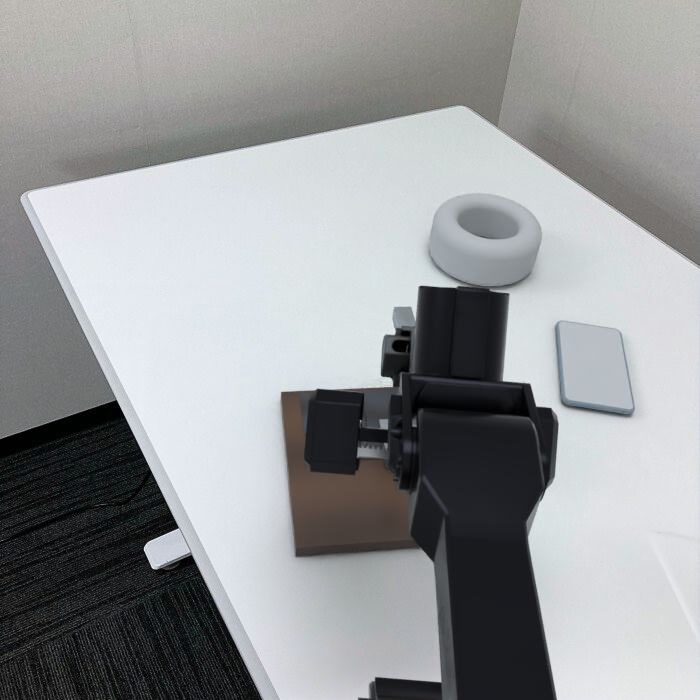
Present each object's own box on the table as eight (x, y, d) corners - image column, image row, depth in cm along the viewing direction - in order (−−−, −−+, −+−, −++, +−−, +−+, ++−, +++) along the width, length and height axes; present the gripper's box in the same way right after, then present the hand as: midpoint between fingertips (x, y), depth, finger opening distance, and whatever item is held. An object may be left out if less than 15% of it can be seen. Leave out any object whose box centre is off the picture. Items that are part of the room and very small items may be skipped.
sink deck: (501, 541, 75) (504, 532, 74) (295, 557, 72) (295, 547, 71) (453, 392, 89) (456, 383, 88) (280, 400, 86) (280, 390, 85)
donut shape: (524, 301, 103) (536, 261, 98) (415, 273, 106) (422, 233, 101) (540, 242, 114) (551, 203, 109) (441, 218, 116) (448, 179, 112)
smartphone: (621, 328, 99) (636, 412, 88) (619, 334, 100) (634, 417, 88) (556, 318, 99) (562, 400, 88) (554, 324, 100) (560, 406, 89)
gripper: (592, 338, 52) (531, 346, 67) (313, 314, 51) (317, 329, 67) (580, 505, 51) (522, 475, 67) (299, 483, 51) (306, 458, 67)
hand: (417, 430), depth 67 cm, fingers open, 9 cm apart
